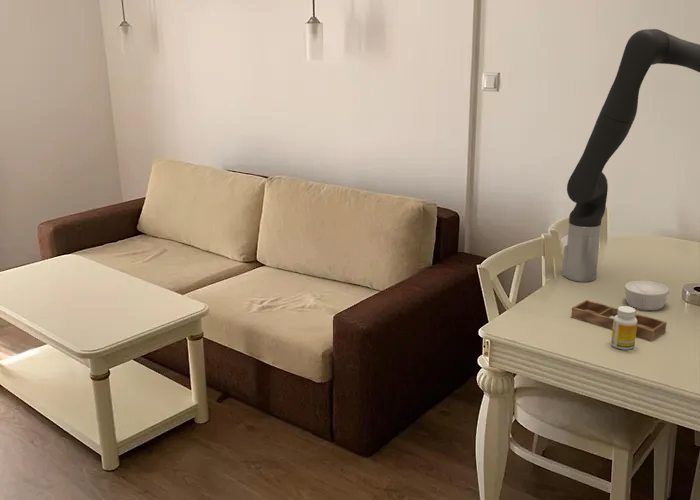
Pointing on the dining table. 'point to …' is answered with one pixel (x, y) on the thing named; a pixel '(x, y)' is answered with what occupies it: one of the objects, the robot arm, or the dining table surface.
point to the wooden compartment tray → (605, 318)
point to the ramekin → (646, 294)
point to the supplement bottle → (624, 328)
